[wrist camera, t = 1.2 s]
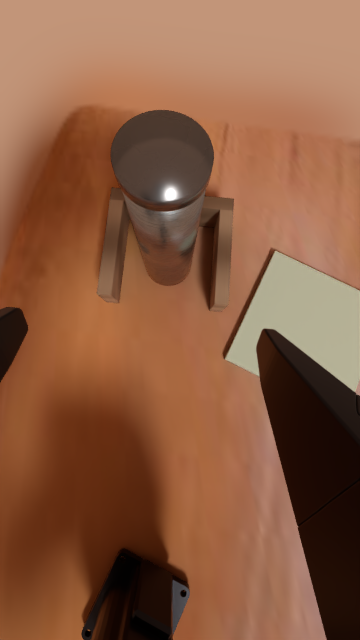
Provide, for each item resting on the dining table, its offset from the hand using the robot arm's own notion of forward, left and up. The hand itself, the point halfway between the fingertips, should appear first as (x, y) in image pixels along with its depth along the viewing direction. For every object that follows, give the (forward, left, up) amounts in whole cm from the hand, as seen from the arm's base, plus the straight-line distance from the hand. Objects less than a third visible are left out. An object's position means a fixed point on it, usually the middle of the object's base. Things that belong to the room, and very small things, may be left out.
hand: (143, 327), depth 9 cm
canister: (+7, +3, -14) cm, 16 cm away
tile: (+7, -12, -14) cm, 20 cm away
